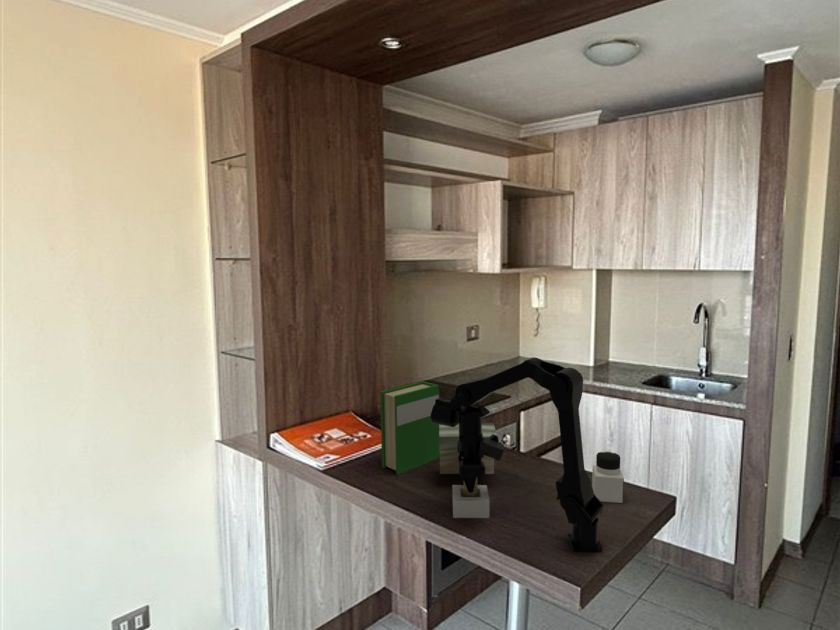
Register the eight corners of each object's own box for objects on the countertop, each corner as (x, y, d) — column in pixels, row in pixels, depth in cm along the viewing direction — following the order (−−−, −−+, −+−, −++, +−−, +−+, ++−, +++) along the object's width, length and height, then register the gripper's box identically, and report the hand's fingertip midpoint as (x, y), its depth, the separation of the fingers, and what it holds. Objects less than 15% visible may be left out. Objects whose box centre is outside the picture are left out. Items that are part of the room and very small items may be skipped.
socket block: (489, 518, 137) (489, 501, 136) (453, 517, 137) (453, 500, 137) (486, 501, 146) (486, 485, 145) (452, 501, 146) (452, 484, 146)
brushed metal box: (497, 489, 153) (497, 437, 151) (439, 488, 154) (439, 436, 152) (493, 471, 165) (493, 423, 163) (439, 471, 166) (439, 422, 164)
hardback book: (398, 475, 163) (396, 396, 160) (381, 467, 169) (380, 391, 166) (439, 458, 176) (438, 385, 172) (423, 452, 181) (422, 381, 178)
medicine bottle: (623, 503, 144) (624, 459, 142) (594, 501, 145) (595, 457, 144) (618, 491, 151) (620, 449, 149) (591, 489, 152) (593, 448, 151)
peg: (477, 501, 139) (477, 467, 138) (463, 501, 140) (463, 467, 138) (476, 495, 143) (476, 462, 142) (463, 495, 143) (463, 462, 142)
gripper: (506, 443, 129) (506, 506, 131) (498, 418, 148) (498, 474, 150) (459, 443, 130) (459, 506, 132) (457, 418, 148) (457, 473, 150)
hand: (470, 489), depth 141 cm, fingers closed on peg, 3 cm apart
